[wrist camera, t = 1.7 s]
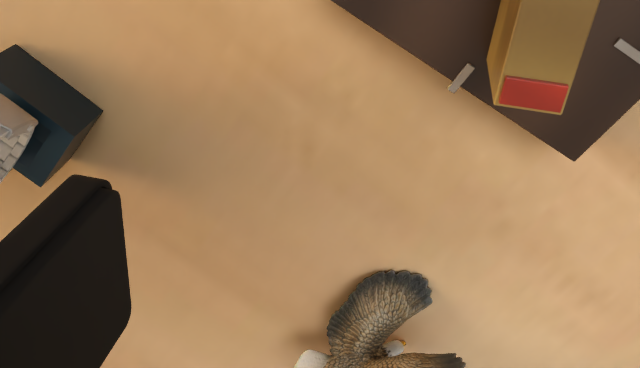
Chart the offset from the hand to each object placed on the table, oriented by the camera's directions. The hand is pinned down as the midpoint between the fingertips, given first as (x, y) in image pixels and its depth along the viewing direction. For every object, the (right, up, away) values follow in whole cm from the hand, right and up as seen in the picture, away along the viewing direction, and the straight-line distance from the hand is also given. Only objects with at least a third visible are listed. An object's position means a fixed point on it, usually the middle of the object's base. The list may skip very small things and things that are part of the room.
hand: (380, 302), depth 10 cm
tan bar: (+7, +10, +13) cm, 18 cm away
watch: (-16, +6, +24) cm, 30 cm away
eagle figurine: (+3, -7, +28) cm, 29 cm away
